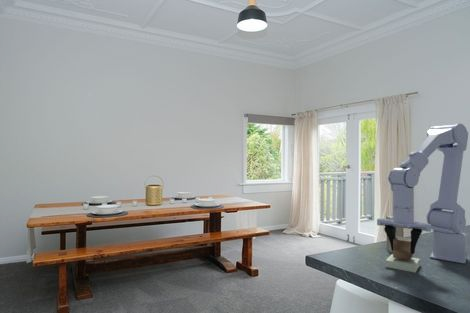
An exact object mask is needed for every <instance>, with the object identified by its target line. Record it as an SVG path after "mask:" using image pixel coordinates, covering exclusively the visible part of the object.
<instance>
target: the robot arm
mask: <svg viewBox="0 0 470 313" xmlns="http://www.w3.org/2000/svg"><path fill="white" fill-rule="evenodd" d="M468 139H469V132H468V130H467V127H466V126H465V125H464V124H463V123H456V124H446V125H432V126H430V128H429V129H428V130H427V131H426V139H425V140H424V141H423V143H422V144H421V146H420V147H419V149H418V150H417V151H411V152H409V153H408V155H407V157H406V158H405V160H403V162H402V163H401V164H400V165H399V166H398V167H394V168H393V169H392V170H391V171H389V175H388V177H387V180H388V182H389V184H390V190H391V191H392V216H393V219H386V218H379V217H378V218H377V219H376V225H377V226H384V229H383V230H384V233H385V234H387V235H386V237H387V236H388V238H389V241H390V244H391V249H392V251H393V239H394V238H395V234H396V227H399V228H403V229H406V230H407V229H410V239H411V254H413V255H414V254H415V252H416V246H417V243H418V241H419V239H420V236H421V234H422V232H423V231H425V232H428V233H430V232H431V231H432V252H431V253H430V256H429V258H430V259H437V260H440V261H441V260H442V261H447V262H454V263H460V264H466V262H467V257H468V250H467V233H465V232H463V230H465V227H466V224H467V221H466V210H465V209H464V208H463V207H462V206H461V205H460V204H459V203H458V201H457V200H458V196H459V195H458V194H459V187H460V180H461V174H462V166H463V158H464V152H465V151H466V150H467V147H468V146H467V145H468ZM436 150H438V151H439V152H442V154H443V160H442V161H443V162H442V163H443V164H442V169H441V177H440V185H439V190H438V197H437V198H438V199H437V200H436V201H434V202H433V203H430V204H429V205H430V206H429V210H428V212H427V214H426V222H420V221H414V220H415V219H414V218H415V216H414V212H415V211H414V209H415V208H414V206H415V204H414V203H415V201H414V200H415V196H414V195H415V188H414V187H416V186H418V184H419V180H420V177H421V173H422V171H423V170H424V169H425V168H426V167H427V165H428V164H429V161H430V160H429V157H430V156H431V155H432V154H434V152H435V151H436Z"/></svg>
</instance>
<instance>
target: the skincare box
mask: <svg viewBox="0 0 470 313" xmlns="http://www.w3.org/2000/svg"><path fill="white" fill-rule="evenodd" d="M385 219H393V215H386V216H385ZM385 234H386V233H385ZM395 237H403V238H405V237H404V228H399V227H396V234H395ZM386 249H387V250H388V252H390V253H391V254H393V251H392V249H391V244H390V241H389V238H388V236H387V234H386Z"/></svg>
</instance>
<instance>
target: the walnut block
mask: <svg viewBox="0 0 470 313" xmlns="http://www.w3.org/2000/svg"><path fill="white" fill-rule="evenodd" d="M392 254H393V258H398V259H404V260H411V258H414V257H413V256H414V254H411V237H410V238H409V237H404V238H403V237H395V238H394V239H393V253H392Z"/></svg>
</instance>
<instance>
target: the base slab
mask: <svg viewBox="0 0 470 313" xmlns="http://www.w3.org/2000/svg"><path fill="white" fill-rule="evenodd" d="M420 266H421V259H420V258H418V257H412V258H411V260H404V259H398V258H393V253H391V254H389V256H388V257H387V258H386V259H385V267H386V268H389V269H395V270H399V271H405V272H409V273H410V272H411V273H417V271H418V269H419V268H420Z"/></svg>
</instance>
